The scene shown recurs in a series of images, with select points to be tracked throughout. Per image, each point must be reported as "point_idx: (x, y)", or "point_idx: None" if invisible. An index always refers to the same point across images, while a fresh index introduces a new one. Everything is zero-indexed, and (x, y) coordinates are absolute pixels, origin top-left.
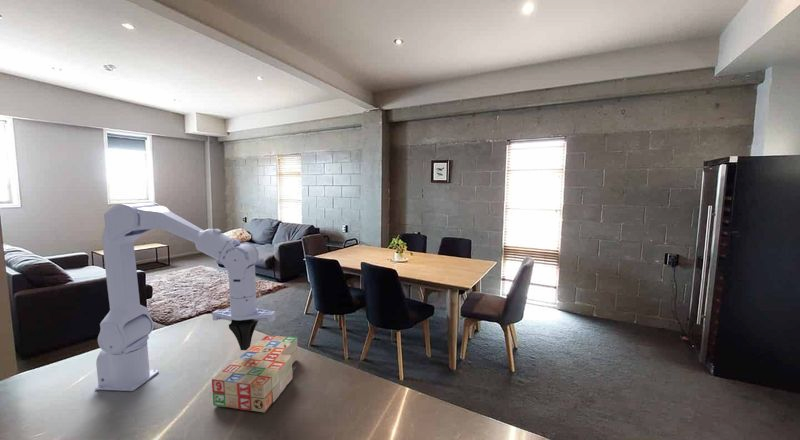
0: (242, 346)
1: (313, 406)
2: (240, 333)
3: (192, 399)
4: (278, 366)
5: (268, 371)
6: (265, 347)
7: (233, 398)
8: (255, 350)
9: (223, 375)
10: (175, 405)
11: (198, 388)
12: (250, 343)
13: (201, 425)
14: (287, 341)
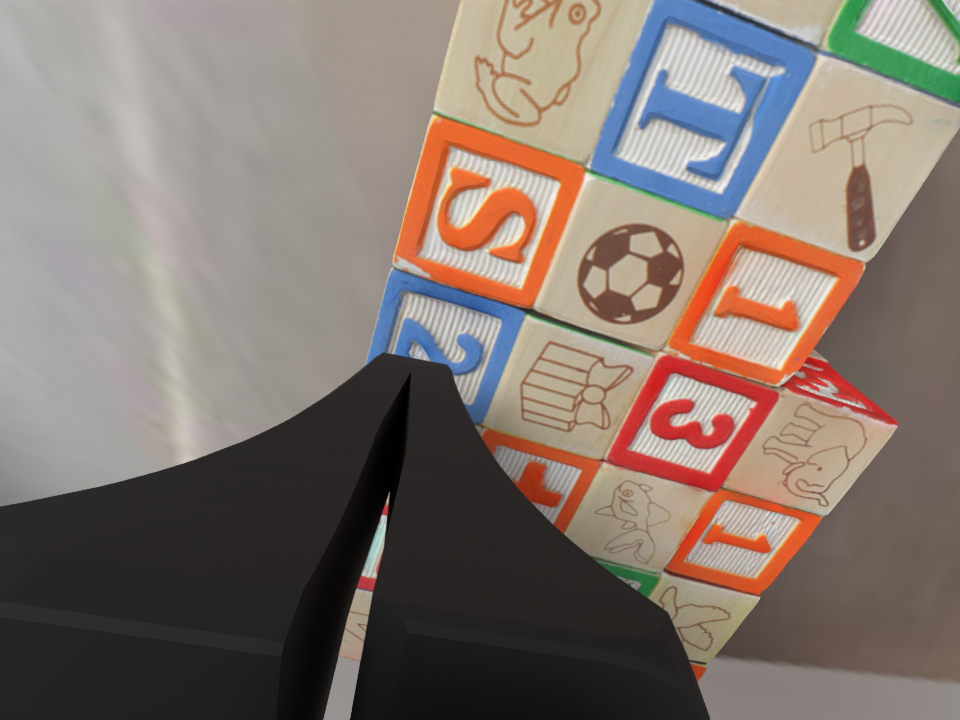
0: (387, 493)
1: (859, 546)
2: (330, 687)
3: (176, 415)
4: (757, 551)
5: (683, 613)
6: (606, 207)
7: None
8: (492, 256)
9: (354, 622)
10: (115, 450)
11: (133, 313)
12: (453, 381)
13: None
14: (911, 42)
